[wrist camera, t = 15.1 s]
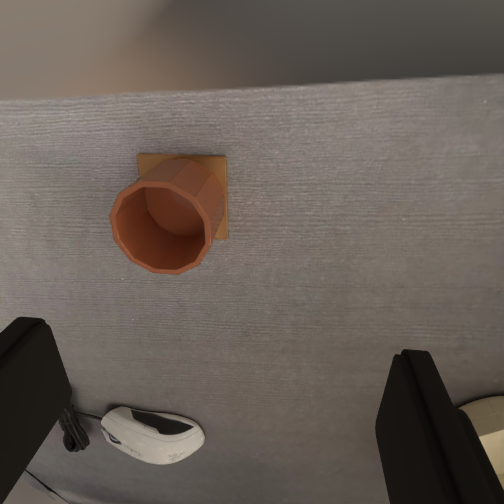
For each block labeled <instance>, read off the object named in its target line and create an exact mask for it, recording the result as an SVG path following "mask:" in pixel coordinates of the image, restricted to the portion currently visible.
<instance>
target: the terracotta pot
mask: <svg viewBox="0 0 504 504" xmlns="http://www.w3.org/2000/svg"><path fill="white" fill-rule="evenodd" d="M224 209H225V196H224V192H223V189H222V187H221V185H220V183H219V181H218V179H217V178H216V177H215V175H214V174H213V173H212V172H211V171H210V170H209V169H207V168H206V167H205V166H203V165H201V164H200V163H198V162H195V161H192V160H189V159H183V158H174V159H167V160H165V161H163V162H161V163H159V164H158V165H156V166H155V167H153V168H151V169H150V170H148V171H147V172H146V173H144V174H143V175H142V176H140V177H139V178H138V179H137V180H135V181H134V182H133V183H131V184H130V185H129V186H128V187H126V188H125V189H124V190H122V191H121V192H120V193H119V194H118V196H117V198H116V201H115V203H114V205H113V208H112V210H111V213H110V215H109V217H110V223H111V228H112V233H113V238H114V241H115V242H116V244H117V245H118V246H119V247H120V249H121V250H122V251H123V252H124V254H125V255H126V256H127V257H128V259H129V260H131V262H133V263H135V264H137V265H139V266H141V267H143V268H145V269H147V270H149V271H150V272H152V273H160V274H177V275H178V274H181V273H183V272H185V271H187V270H189V269H191V268H193V267H196V266H198V265H199V264H200V263H201V261H202V260H203V258H204V256H205V255H206V253H207V251H208V250H209V248H210V247H211V244H212V242H213V240H214V238H215V235H216V233H217V231H218V228H219V226H220V224H221V221H222V219H223V217H224Z"/></svg>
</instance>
